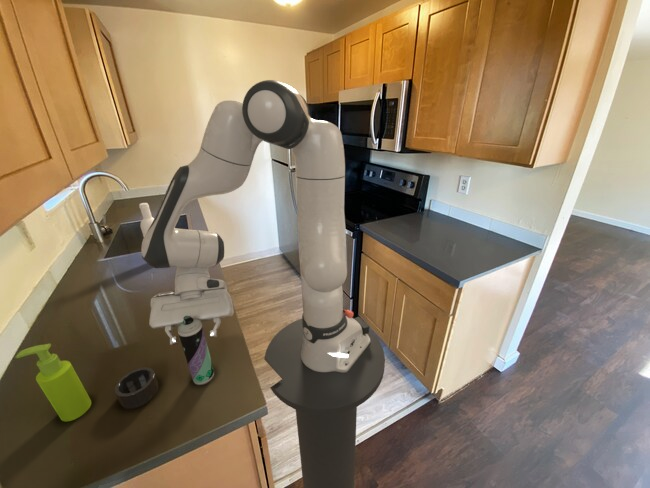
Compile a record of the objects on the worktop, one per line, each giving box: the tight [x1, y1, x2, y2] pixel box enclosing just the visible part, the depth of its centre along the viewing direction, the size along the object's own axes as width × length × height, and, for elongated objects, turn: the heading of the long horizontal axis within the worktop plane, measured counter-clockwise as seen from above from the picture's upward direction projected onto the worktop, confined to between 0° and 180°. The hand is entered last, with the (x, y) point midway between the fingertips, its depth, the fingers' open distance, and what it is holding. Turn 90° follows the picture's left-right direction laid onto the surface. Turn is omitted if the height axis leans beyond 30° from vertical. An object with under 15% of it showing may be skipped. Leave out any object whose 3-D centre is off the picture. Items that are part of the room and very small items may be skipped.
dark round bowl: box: [114, 367, 160, 410], centre depth 70 cm, size 8×8×4 cm
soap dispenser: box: [14, 343, 92, 423], centre depth 63 cm, size 6×7×20 cm
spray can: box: [177, 316, 215, 386], centre depth 71 cm, size 6×6×20 cm
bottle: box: [138, 202, 155, 238], centre depth 134 cm, size 8×8×30 cm
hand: (194, 340), depth 71 cm, fingers open, 8 cm apart
